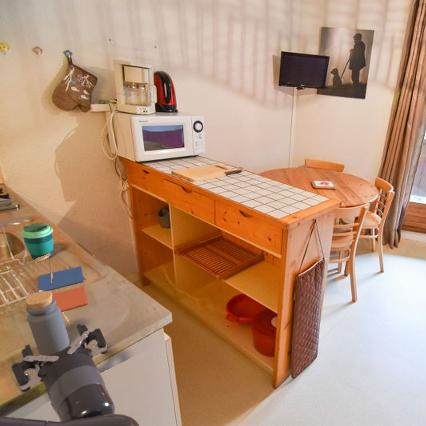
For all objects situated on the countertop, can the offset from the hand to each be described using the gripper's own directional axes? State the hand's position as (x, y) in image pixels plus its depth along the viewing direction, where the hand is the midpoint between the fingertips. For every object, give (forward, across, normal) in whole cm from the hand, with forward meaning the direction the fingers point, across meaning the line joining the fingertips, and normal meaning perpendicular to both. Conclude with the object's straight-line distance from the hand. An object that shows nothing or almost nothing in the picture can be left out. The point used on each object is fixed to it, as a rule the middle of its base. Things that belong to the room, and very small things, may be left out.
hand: (54, 337), depth 67 cm
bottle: (+10, 0, +11) cm, 15 cm away
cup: (+60, -7, +10) cm, 61 cm away
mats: (+35, -6, +10) cm, 37 cm away
